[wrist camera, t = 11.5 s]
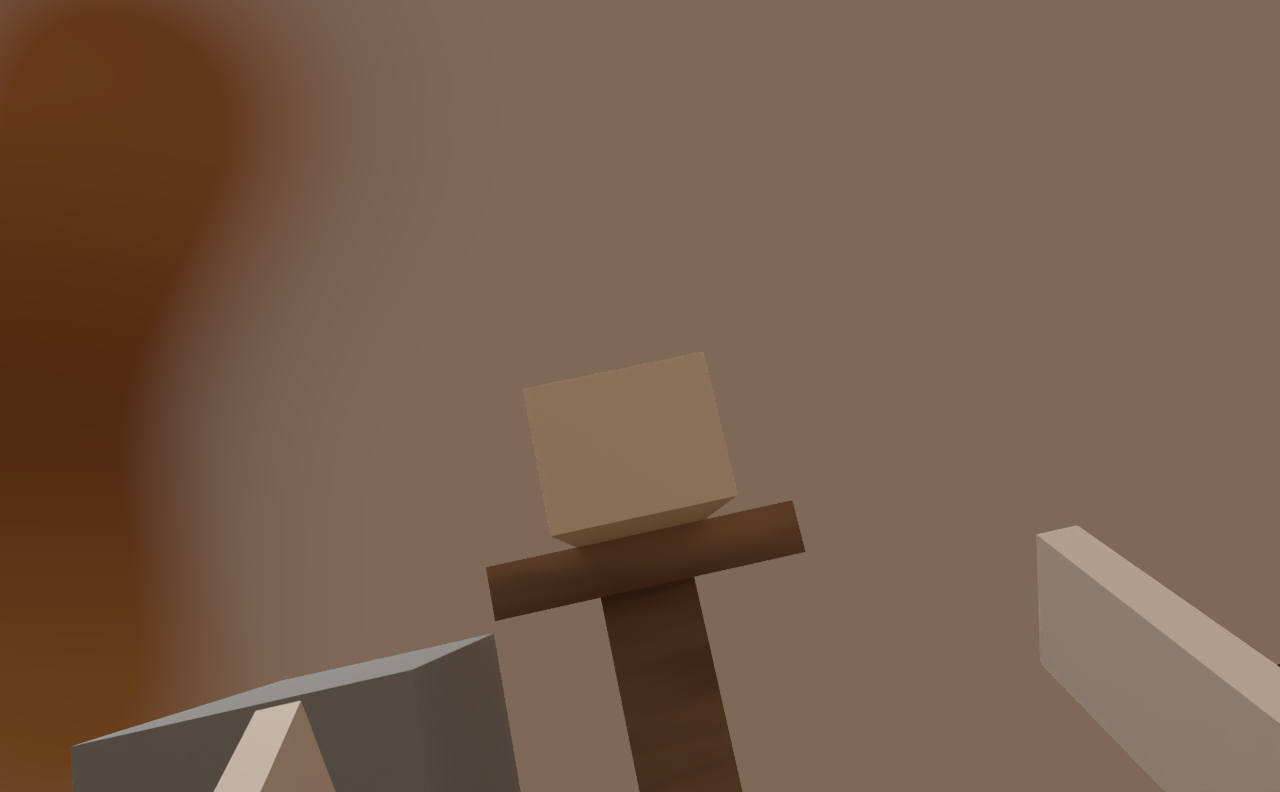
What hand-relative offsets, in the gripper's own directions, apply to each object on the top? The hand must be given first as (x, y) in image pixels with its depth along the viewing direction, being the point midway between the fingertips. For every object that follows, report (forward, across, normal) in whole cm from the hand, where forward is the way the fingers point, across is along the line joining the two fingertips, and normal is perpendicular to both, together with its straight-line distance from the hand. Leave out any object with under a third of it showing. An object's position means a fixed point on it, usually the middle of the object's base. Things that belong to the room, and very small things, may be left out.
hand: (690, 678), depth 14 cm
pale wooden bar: (+18, 0, -7) cm, 19 cm away
